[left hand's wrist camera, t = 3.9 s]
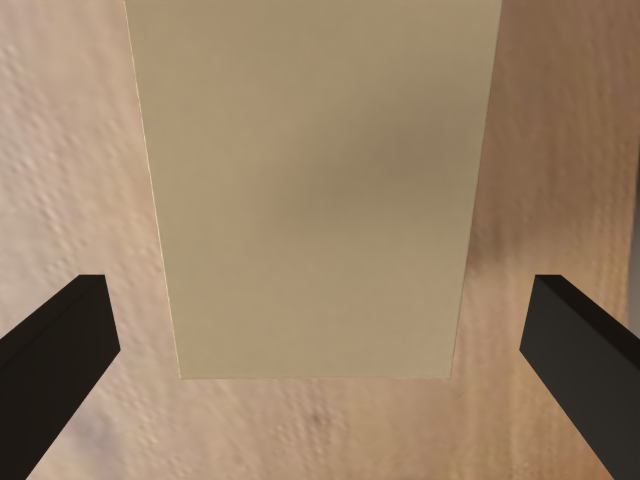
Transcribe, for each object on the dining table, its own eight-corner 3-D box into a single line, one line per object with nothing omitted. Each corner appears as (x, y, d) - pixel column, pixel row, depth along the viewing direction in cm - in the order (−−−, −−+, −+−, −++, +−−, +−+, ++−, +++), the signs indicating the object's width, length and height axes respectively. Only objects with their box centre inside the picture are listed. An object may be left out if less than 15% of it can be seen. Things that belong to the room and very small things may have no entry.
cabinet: (183, -103, 18) (87, -238, 10) (444, -102, 18) (536, -236, 10) (221, 289, 24) (179, 379, 17) (410, 288, 25) (451, 378, 17)
